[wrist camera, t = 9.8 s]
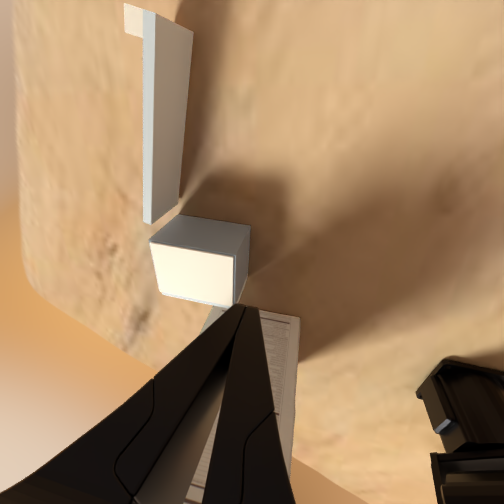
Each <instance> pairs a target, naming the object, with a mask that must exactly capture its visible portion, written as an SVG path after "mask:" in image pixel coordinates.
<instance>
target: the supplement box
mask: <svg viewBox="0 0 504 504" xmlns="http://www.w3.org/2000/svg"><path fill="white" fill-rule="evenodd" d="M226 310H228V308H223V307H218V306H213V307H212V309H211V311H210V313H209V315H208V318H207V320H206V322H205V324H204V326H203V328H202V330H201V332H200V334H201V333H202V332H203V331H204V330H206V329H207V328H208V327H209V326H210V325H211V324H212V323H213V322H214V321H215V320H217V319H218V318H219V317H220V316H221V315H222V314H223V313H224V312H225V311H226ZM259 313H260V319H261V325H262V331H263V338H264V344H265V350H266V356H267V363H268V369H269V375H270V381H271V388H272V394H273V400H274V406H275V413H276V418H277V424H278V430H279V435H280V441H281V446H282V451H283V456H284V460H285V464H286V468H287V472H288V476H289V480H290V474H291V458H292V446H293V434H294V423H295V393H296V382H297V367H298V353H299V339H300V324H301V319H300V318H299V317H295V316H289V315H284V314H278V313H273V312H267V311H262V310H259ZM200 334H199V335H200ZM220 408H221V406H220ZM219 413H220V409H219V411H218V414H217V416H216V419H215V422H214V424H213V427H212V430H211V432H210V435H209V437H208V440H207V443H206V445H205V448H204V451H203V453H202V456H201V458H200V461H199V464H198V466H197V469H196V472H195V474H194V477H193V479H192V482H191V485H190V487H189V490H188V493H187V495H186V498H185V500H184V503H183V504H202V499H203V494H204V489H205V484H206V479H207V473H208V468H209V463H210V458H211V453H212V448H213V443H214V438H215V433H216V428H217V423H218V418H219Z"/></svg>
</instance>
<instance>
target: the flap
mask: <svg viewBox="0 0 504 504" xmlns="http://www.w3.org/2000/svg"><path fill="white" fill-rule="evenodd" d="M124 21H125V33H128V34H131V35H134V36H137V37H140V38H143V222H144V223H147V224H150V225H152V224H153V223H154V222H155V221H157V220H158V219H159V218H160V217H162V216H163V215H164V214H166V213H167V212H168V211H169V210H171V209H172V208H173V207H174V206H176V205H177V204H178V199H179V188H180V177H181V166H182V155H183V144H184V133H185V122H186V111H187V100H188V89H189V78H190V68H191V57H192V46H193V35H194V32H193V31H191V30H189V29H187V28H185V27H183V26H181V25H179V24H176V23H174V22H172V21H170V20H168V19H166V18H164V17H162V16H160V15H158V14H156V13H154V12H150V11H147V10H144V9H141V8H138V7H135V6H132V5H129V4H126V3H124Z"/></svg>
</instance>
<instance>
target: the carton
mask: <svg viewBox="0 0 504 504" xmlns="http://www.w3.org/2000/svg"><path fill="white" fill-rule="evenodd" d="M250 232H251V226H250V225H244V224H237V223H231V222H224V221H218V220H212V219H205V218H199V217H192V216H186V215H180V214H178V215H177V216H175V217H174V218H173V219H172V220H171V221H170V222H168V223H167V224H166V225H165V226H164V227H163V228H161V229H160V230H159V231H158V232H157V233H156V234H155V235H153V236H152V237H151V238H150V239H149V244H150V249H151V254H152V259H153V263H154V268H155V273H156V278H157V282H158V287H159V291H160V292H162V295H167V296H171V297H176V298H181V299H185V300H190V301H195V302H199V303H204V304H209V305H213V306H218V307H223V308H228V309H229V308H230V307H231V306H232V305H233V304H235V303H238V302H239V300H240V297H241V295H242V292H243V289H244V287H245V284H246V282H247V274H248V265H249V249H250Z"/></svg>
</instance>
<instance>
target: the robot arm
mask: <svg viewBox="0 0 504 504" xmlns="http://www.w3.org/2000/svg"><path fill="white" fill-rule="evenodd" d="M416 396H417V398H418V399H422V400H423V401H424V404H425V407H426V410H427V413H428V416H429V419H430V422H431V425H432V427H433V430H434V431H435V433H436V434H440V437H441V440H442V443H443V446H444V448H445V451H446V453H437V452H434V453H430V457H431V468H432V474H433V480H434V485H435V491H436V497H437V503H438V504H504V372H500V371H495V370H491V369H486V368H482V367H477V366H472V365H468V364H463V363H458V362H454V361H449V360H444V361H442V362H440V363H439V365H438V366H437V367H436V368H435V369H434V371H433V372H432V373H431V374H430V375H429V377H428V378H427V379H426V380H425V381H424V383H423V384H422V385H421V386H420V387H419V389H418V390H417V391H416ZM220 406H221V408H220ZM219 409H220V413H219V418H218V423H217V428H216V433H215V438H214V443H213V448H212V453H211V458H210V463H209V468H208V473H207V479H206V484H205V489H204V494H203V499H202V504H296V503H295V499H294V495H293V492H292V488H291V484H290V480H289V476H288V472H287V468H286V464H285V460H284V456H283V451H282V446H281V441H280V435H279V430H278V424H277V418H276V413H275V406H274V400H273V394H272V388H271V381H270V375H269V369H268V363H267V356H266V350H265V344H264V338H263V331H262V325H261V319H260V313H259V309H258V308H257V307H252V306H247V307H246V305H243V304H238V303H235V304H233V305H232V306H231V307H230V308H229V309H228V310H226V311H225V312H224V313H223V314H222V315H221V316H220V317H219V318H218V319H217V320H215V321H214V322H213V323H212V324H211V325H210V326H209V327H208V328H207V329H206V330H204V331H203V332H202V333H201V334H200V335H199V336H198V337H197V338H196V339H195V340H193V341H192V342H191V343H190V344H189V345H188V346H187V347H186V348H185V349H184V350H182V351H181V352H180V353H179V354H178V355H177V356H176V357H175V358H174V359H173V360H171V361H170V362H169V363H168V364H167V365H166V366H165V367H164V368H163V369H162V370H160V371H159V372H158V373H157V374H156V375H155V376H154V379H150V380H149V381H148V382H147V383H146V384H145V385H144V386H143V387H142V388H141V389H140V390H138V391H137V392H136V393H135V394H134V395H133V396H131V397H130V398H129V399H128V400H127V401H126V402H124V404H122V405H121V406H120V407H118V408H117V409H116V410H115V411H113V412H112V413H111V414H110V415H108V416H107V417H106V418H105V419H103V420H102V421H101V422H100V423H98V424H97V425H95V426H94V427H93V428H91V429H90V430H89V431H88V432H86V433H85V434H84V435H82V436H81V437H80V438H78V439H77V440H76V441H75V442H73V443H72V444H71V445H69V446H68V447H67V448H65V449H64V450H63V451H61V452H60V453H59V454H57V455H56V456H55V457H53V458H52V459H51V460H50V461H48V462H47V463H46V464H44V465H43V466H42V467H40V468H39V469H37V470H36V471H35V472H33V473H32V474H30V475H29V476H27V477H26V478H25V479H23V480H21V481H20V482H18V483H16V484H15V485H13V486H12V487H10V488H8V489H6V490H4V491H3V492H1V493H0V504H183V503H184V500H185V498H186V495H187V493H188V490H189V487H190V485H191V482H192V479H193V477H194V474H195V472H196V469H197V466H198V464H199V461H200V458H201V456H202V453H203V451H204V448H205V445H206V443H207V440H208V437H209V435H210V432H211V430H212V427H213V424H214V422H215V419H216V416H217V414H218V411H219Z"/></svg>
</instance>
